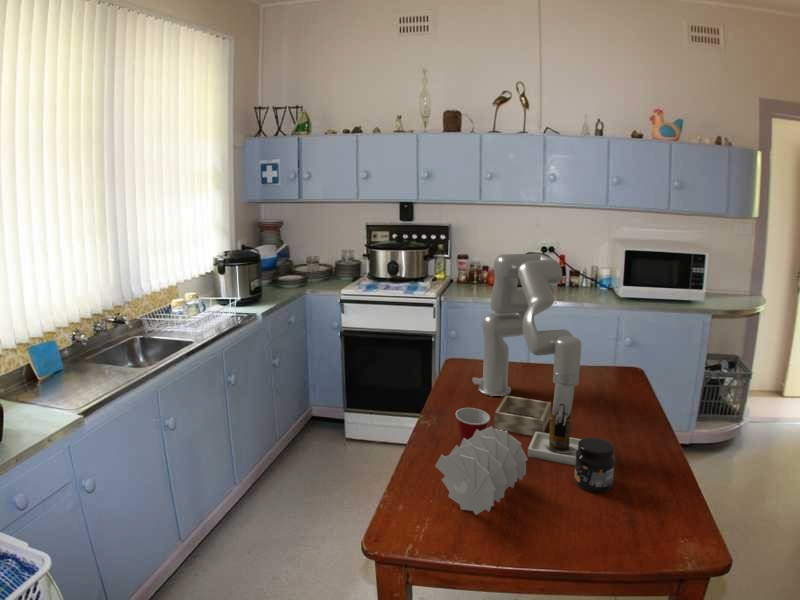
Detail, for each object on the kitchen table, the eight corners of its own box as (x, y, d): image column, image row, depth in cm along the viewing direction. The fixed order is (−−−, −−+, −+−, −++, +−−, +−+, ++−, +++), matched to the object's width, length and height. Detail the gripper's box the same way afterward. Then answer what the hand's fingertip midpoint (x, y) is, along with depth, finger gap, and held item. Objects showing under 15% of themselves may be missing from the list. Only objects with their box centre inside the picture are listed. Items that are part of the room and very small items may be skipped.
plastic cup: (480, 461, 177) (481, 424, 174) (448, 452, 182) (449, 416, 180) (494, 447, 186) (496, 412, 183) (463, 438, 191) (464, 404, 188)
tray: (527, 456, 180) (527, 449, 179) (535, 438, 192) (535, 431, 191) (588, 468, 173) (589, 460, 172) (592, 448, 185) (593, 441, 184)
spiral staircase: (515, 494, 167) (472, 535, 147) (467, 453, 174) (420, 486, 154) (546, 448, 159) (505, 484, 139) (494, 407, 167) (449, 436, 147)
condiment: (561, 442, 187) (562, 405, 186) (579, 451, 179) (579, 412, 178) (542, 445, 184) (543, 408, 183) (559, 454, 176) (559, 415, 175)
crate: (494, 429, 198) (494, 412, 197) (504, 410, 212) (505, 395, 211) (542, 437, 192) (543, 420, 191) (549, 418, 206) (550, 402, 205)
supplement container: (573, 471, 171) (576, 434, 168) (611, 477, 168) (615, 439, 165) (573, 490, 161) (576, 451, 158) (613, 497, 158) (617, 456, 156)
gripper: (557, 366, 186) (553, 416, 190) (548, 385, 170) (545, 439, 174) (581, 369, 183) (577, 420, 187) (575, 389, 167) (571, 444, 171)
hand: (562, 429), depth 181 cm, fingers open, 9 cm apart
